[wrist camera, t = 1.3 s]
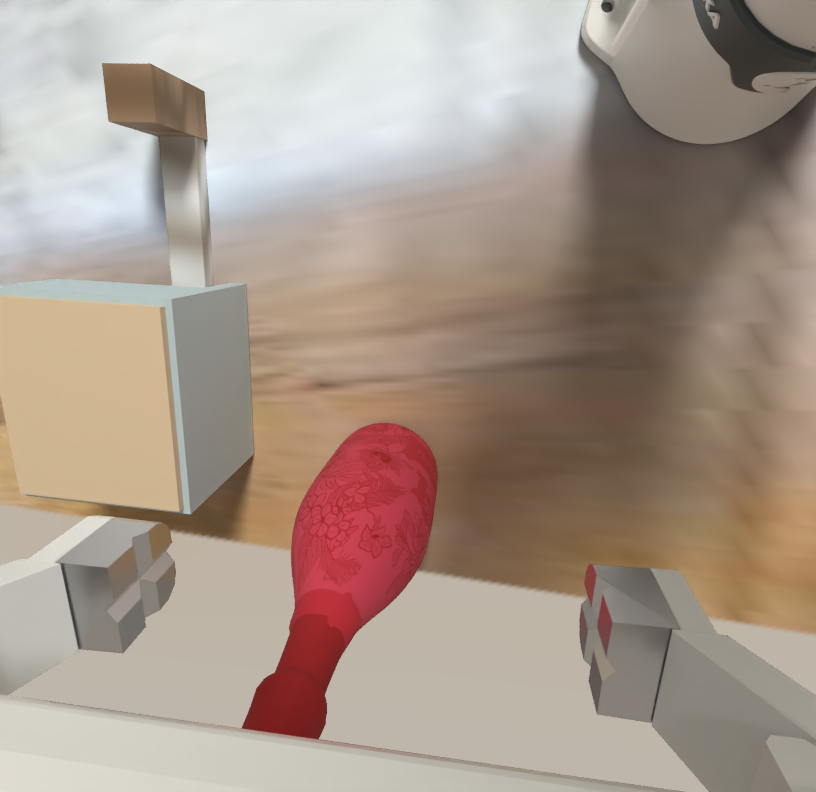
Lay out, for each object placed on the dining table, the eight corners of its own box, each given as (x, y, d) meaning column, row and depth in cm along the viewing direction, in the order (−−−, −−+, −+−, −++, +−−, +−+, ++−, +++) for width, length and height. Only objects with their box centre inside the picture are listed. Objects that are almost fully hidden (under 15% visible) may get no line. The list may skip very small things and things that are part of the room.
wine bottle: (455, 499, 49) (416, 871, 20) (359, 524, 51) (202, 891, 22) (419, 403, 46) (319, 670, 18) (320, 434, 49) (91, 715, 20)
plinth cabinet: (97, 274, 47) (-28, 287, 35) (246, 283, 45) (166, 300, 34) (118, 440, 52) (15, 498, 40) (254, 453, 50) (186, 518, 39)
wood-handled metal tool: (162, 90, 42) (102, 63, 35) (204, 91, 41) (150, 64, 35) (181, 311, 47) (131, 323, 40) (218, 313, 46) (174, 326, 40)
